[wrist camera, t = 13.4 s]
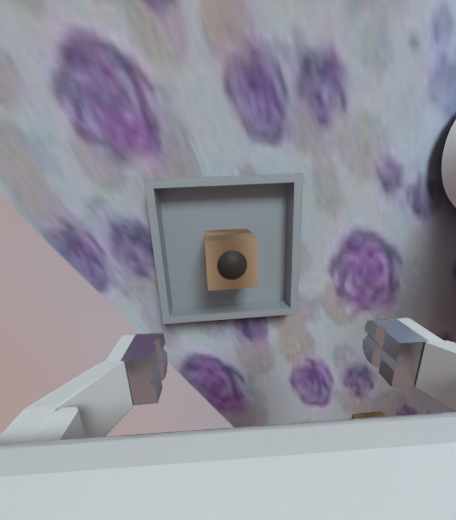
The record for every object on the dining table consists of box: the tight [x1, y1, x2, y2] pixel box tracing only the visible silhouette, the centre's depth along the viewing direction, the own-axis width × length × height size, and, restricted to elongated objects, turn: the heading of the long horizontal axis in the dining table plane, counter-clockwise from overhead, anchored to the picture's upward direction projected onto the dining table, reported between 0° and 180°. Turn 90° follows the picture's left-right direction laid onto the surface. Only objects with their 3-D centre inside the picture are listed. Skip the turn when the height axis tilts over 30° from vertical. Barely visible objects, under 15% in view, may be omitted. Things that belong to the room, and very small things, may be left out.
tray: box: [144, 173, 303, 324], centre depth 25 cm, size 15×15×3 cm
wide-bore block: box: [204, 228, 258, 291], centre depth 23 cm, size 4×4×6 cm
